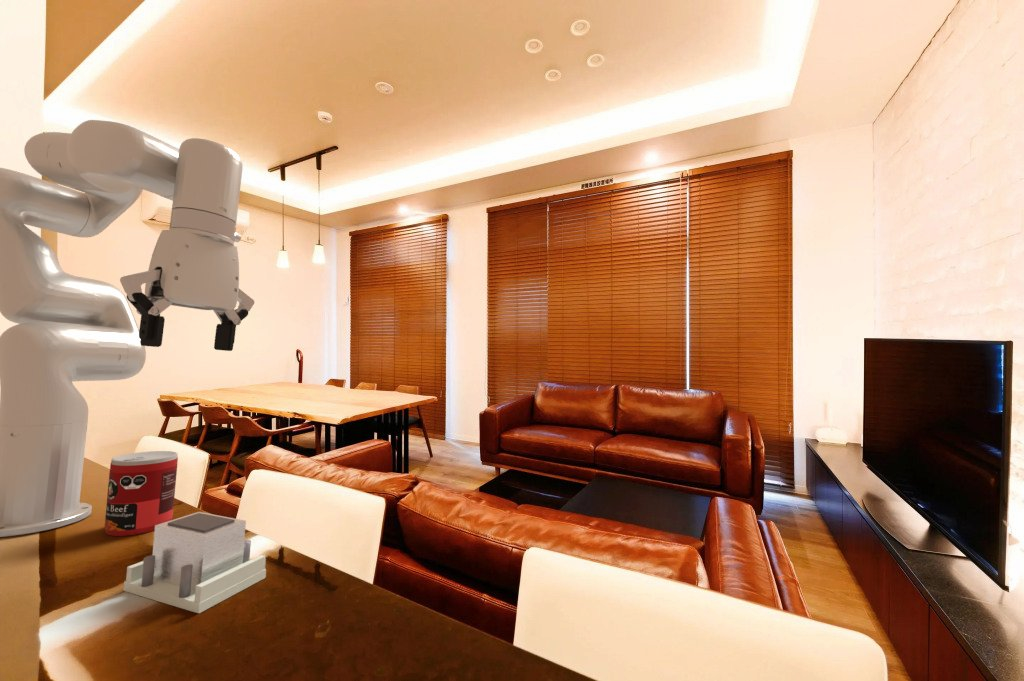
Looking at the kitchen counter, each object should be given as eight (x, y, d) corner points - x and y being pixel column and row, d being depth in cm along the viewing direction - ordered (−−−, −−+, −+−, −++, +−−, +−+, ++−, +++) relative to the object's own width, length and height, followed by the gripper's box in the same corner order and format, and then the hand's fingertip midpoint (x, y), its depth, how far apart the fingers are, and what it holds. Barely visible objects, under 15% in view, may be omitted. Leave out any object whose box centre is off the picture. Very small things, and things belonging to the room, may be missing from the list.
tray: (123, 590, 47) (126, 554, 47) (196, 560, 55) (198, 529, 55) (198, 613, 43) (202, 574, 44) (265, 577, 51) (268, 544, 51)
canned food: (94, 530, 63) (101, 456, 64) (158, 514, 70) (164, 448, 71) (116, 541, 59) (124, 463, 60) (181, 523, 66) (187, 454, 67)
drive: (150, 578, 48) (155, 523, 48) (194, 560, 53) (198, 510, 53) (200, 592, 45) (204, 534, 46) (242, 571, 50) (246, 519, 51)
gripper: (241, 248, 69) (229, 350, 68) (113, 209, 53) (95, 342, 52) (275, 247, 67) (263, 353, 66) (152, 205, 50) (134, 346, 49)
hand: (189, 348), depth 59 cm, fingers open, 9 cm apart
